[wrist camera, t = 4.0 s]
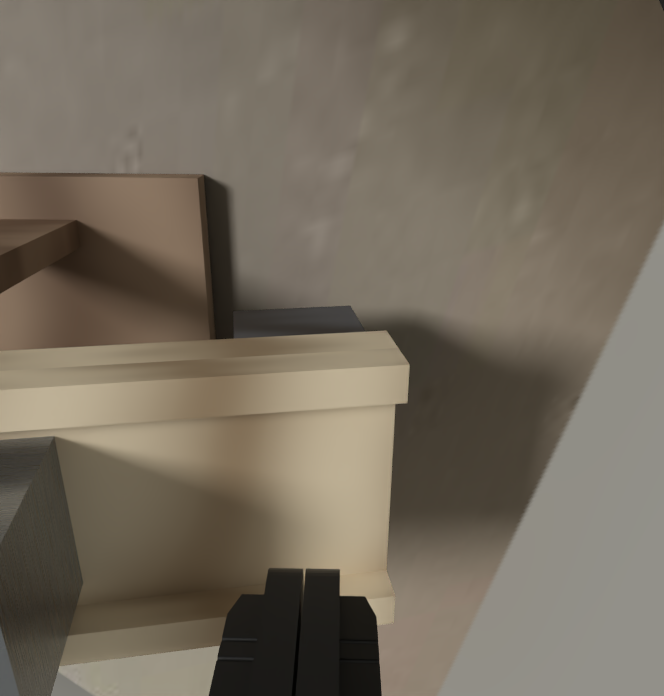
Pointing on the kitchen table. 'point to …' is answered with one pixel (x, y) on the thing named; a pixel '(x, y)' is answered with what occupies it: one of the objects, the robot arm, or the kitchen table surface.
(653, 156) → the kitchen table surface
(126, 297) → the stand
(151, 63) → the kitchen table surface
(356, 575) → the beam
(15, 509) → the block
